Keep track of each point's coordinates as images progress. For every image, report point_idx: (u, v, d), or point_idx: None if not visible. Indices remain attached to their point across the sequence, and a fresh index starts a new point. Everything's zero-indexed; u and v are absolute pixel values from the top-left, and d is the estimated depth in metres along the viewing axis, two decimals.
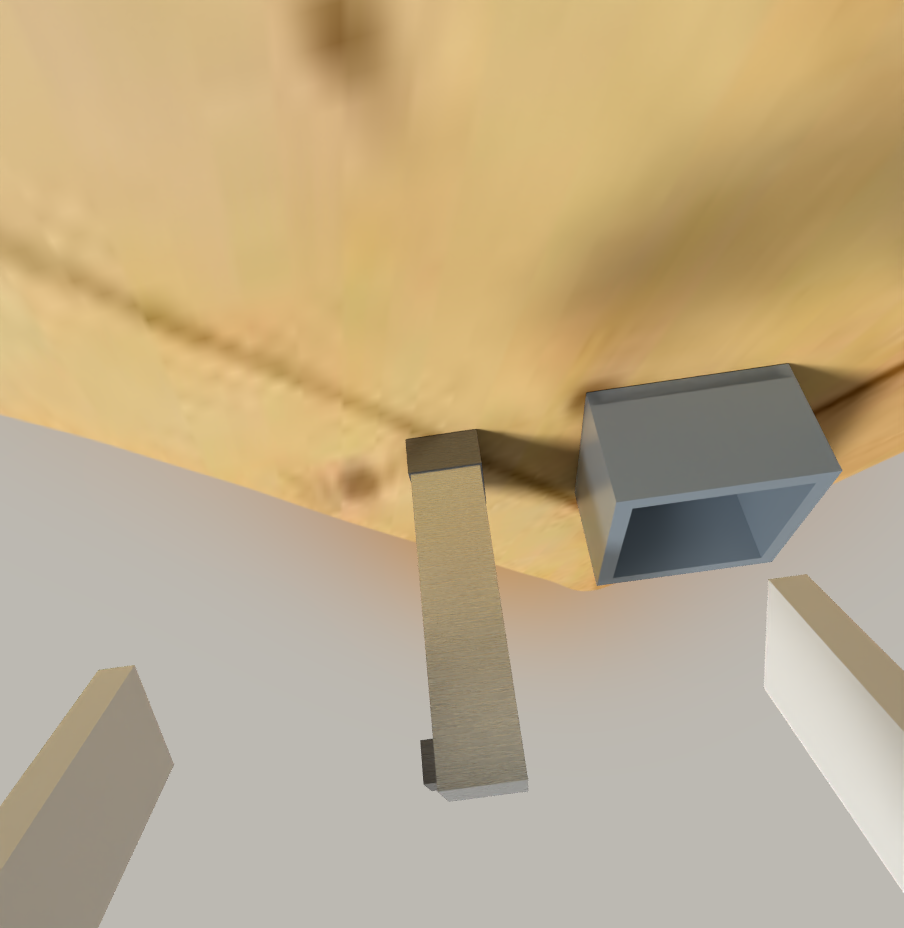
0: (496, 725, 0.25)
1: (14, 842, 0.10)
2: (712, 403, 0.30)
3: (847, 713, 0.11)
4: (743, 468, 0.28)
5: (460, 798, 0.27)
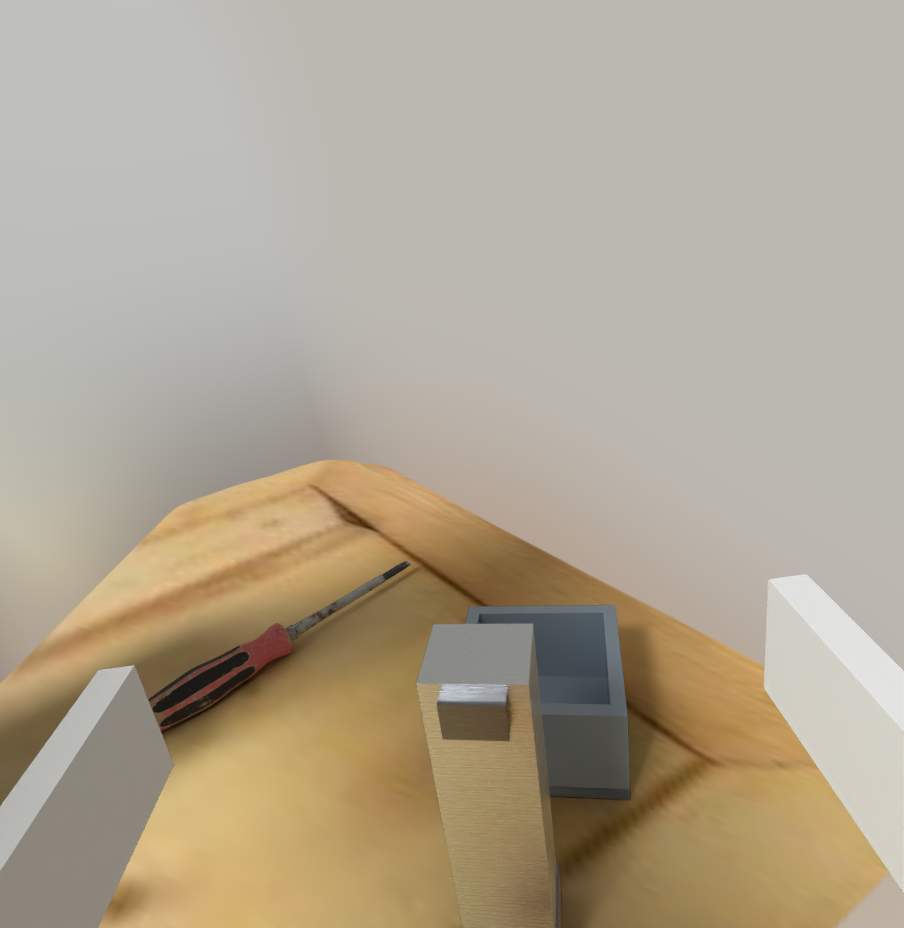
0: None
1: (14, 842, 0.10)
2: None
3: (847, 713, 0.11)
4: None
5: (512, 673, 0.23)
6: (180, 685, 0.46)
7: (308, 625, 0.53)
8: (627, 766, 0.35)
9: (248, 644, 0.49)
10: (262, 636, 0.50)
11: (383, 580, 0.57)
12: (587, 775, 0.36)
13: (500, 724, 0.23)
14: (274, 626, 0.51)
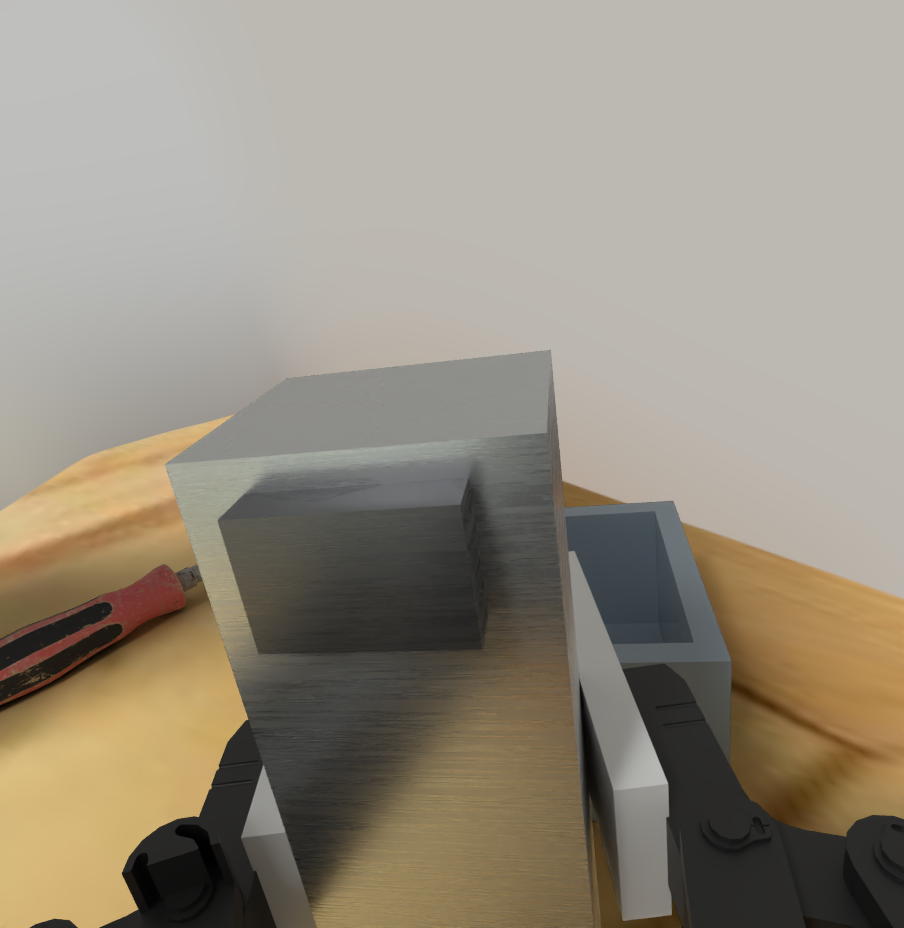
0: None
1: None
2: None
3: None
4: None
5: (490, 419, 0.07)
6: None
7: None
8: None
9: (114, 592, 0.33)
10: (138, 582, 0.34)
11: None
12: None
13: (448, 584, 0.06)
14: (158, 568, 0.35)
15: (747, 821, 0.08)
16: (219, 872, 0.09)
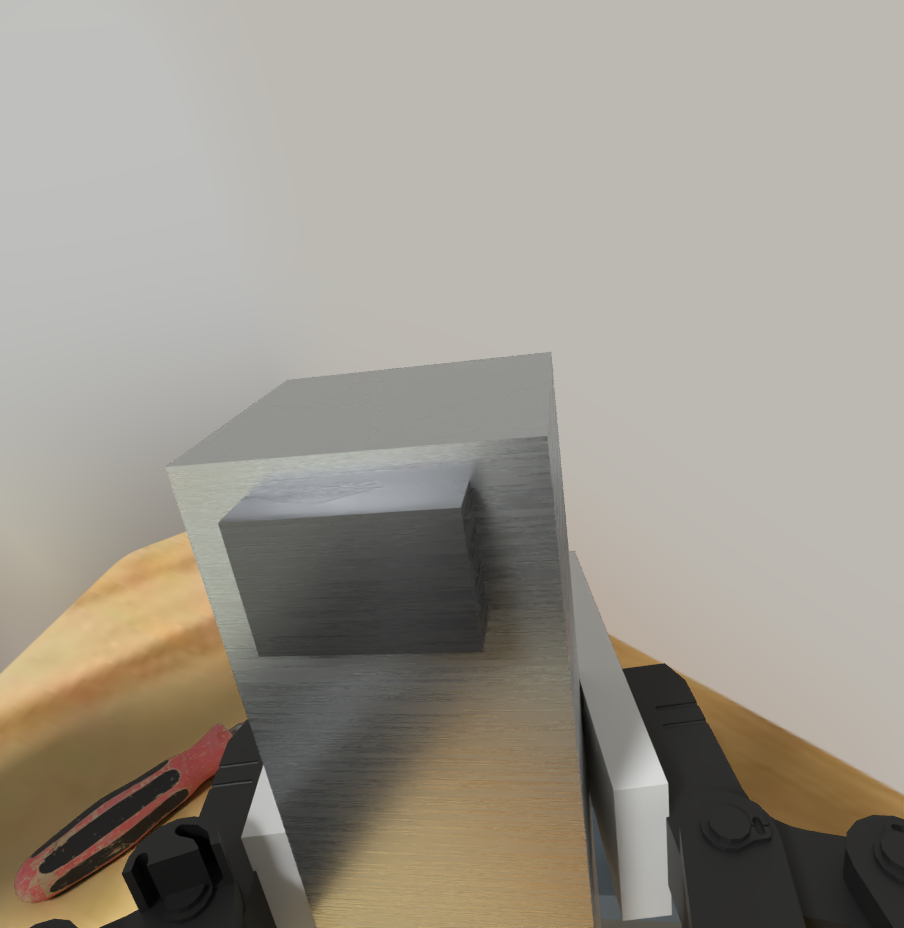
0: None
1: None
2: None
3: None
4: None
5: (490, 421, 0.07)
6: (80, 829, 0.33)
7: None
8: None
9: (179, 757, 0.37)
10: (199, 743, 0.38)
11: None
12: None
13: (448, 587, 0.06)
14: (215, 728, 0.39)
15: (747, 821, 0.08)
16: (219, 872, 0.09)
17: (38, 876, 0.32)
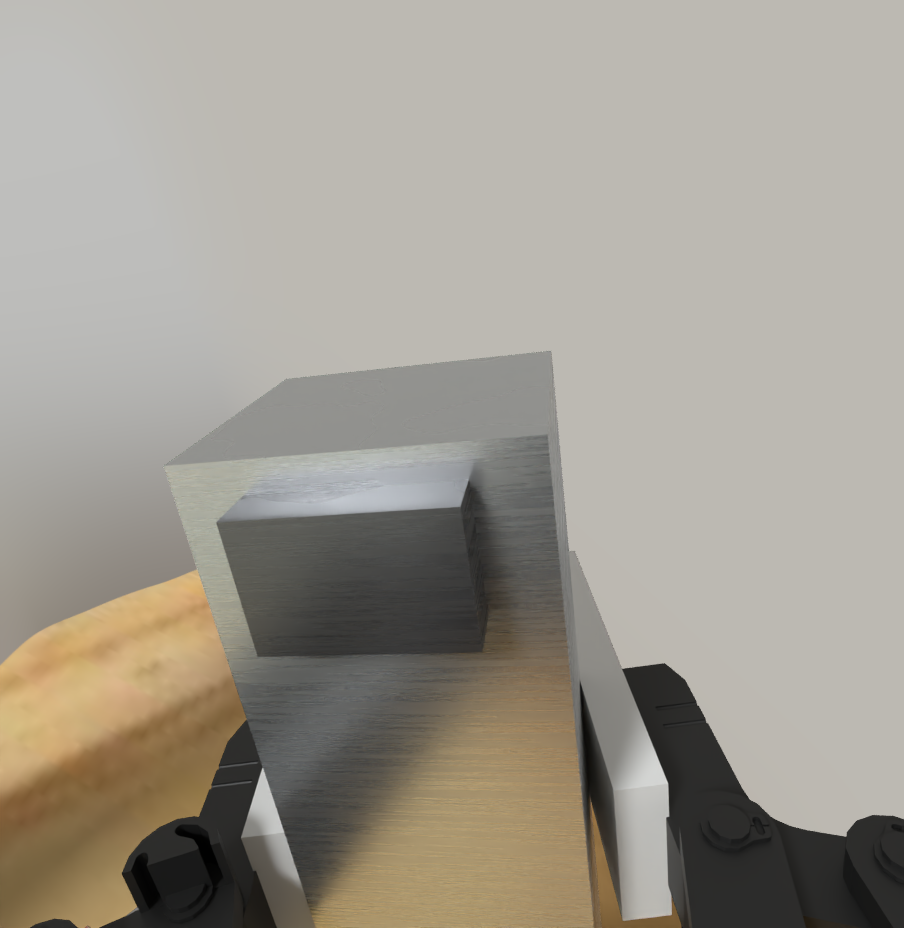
0: None
1: None
2: None
3: None
4: None
5: (490, 420, 0.07)
6: None
7: None
8: None
9: None
10: None
11: None
12: None
13: (448, 587, 0.06)
14: None
15: (747, 821, 0.08)
16: (219, 872, 0.09)
17: None
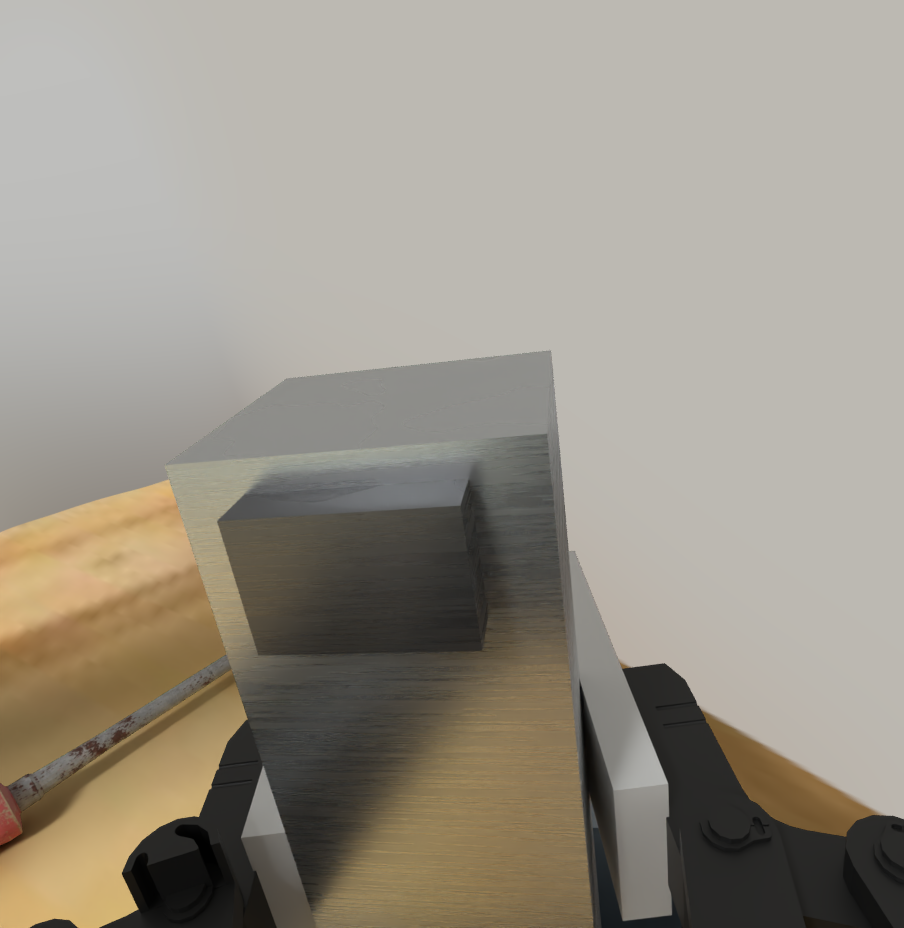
0: None
1: None
2: None
3: None
4: None
5: (490, 419, 0.07)
6: None
7: (65, 771, 0.27)
8: None
9: None
10: None
11: None
12: None
13: (448, 584, 0.06)
14: None
15: (747, 821, 0.08)
16: (219, 872, 0.09)
17: None
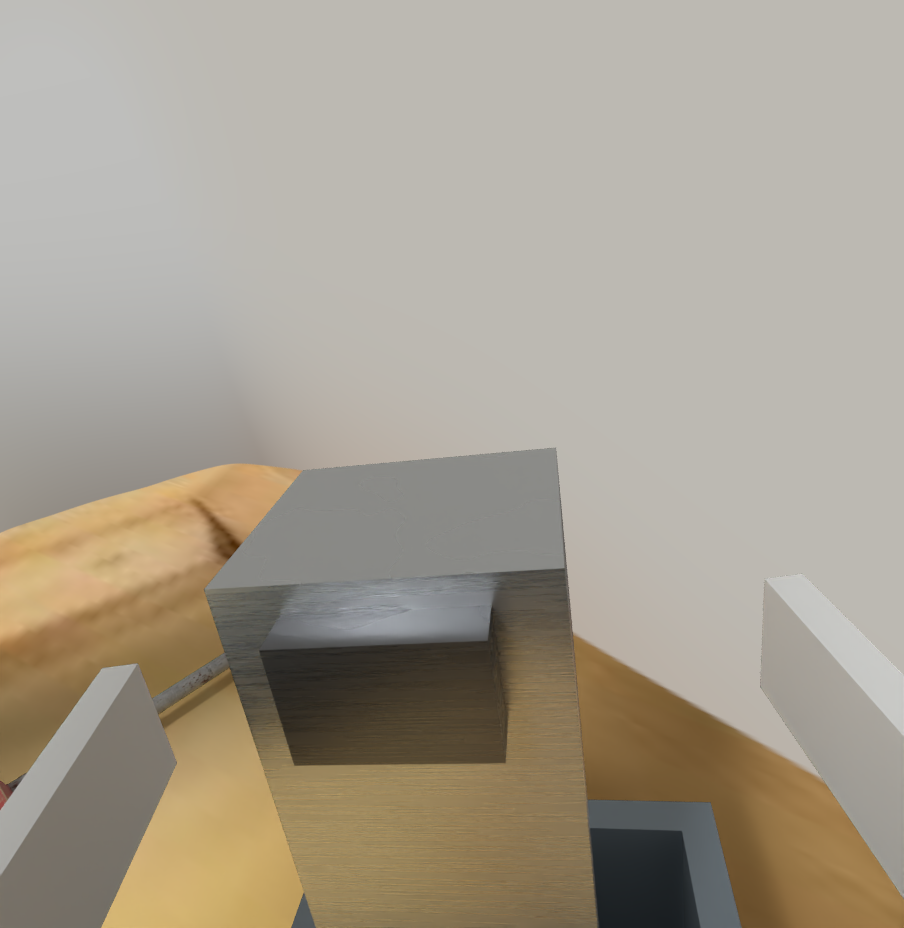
0: None
1: (20, 839, 0.10)
2: None
3: (842, 711, 0.11)
4: None
5: (509, 545, 0.07)
6: None
7: None
8: None
9: None
10: None
11: None
12: None
13: (476, 707, 0.07)
14: None
15: None
16: None
17: None
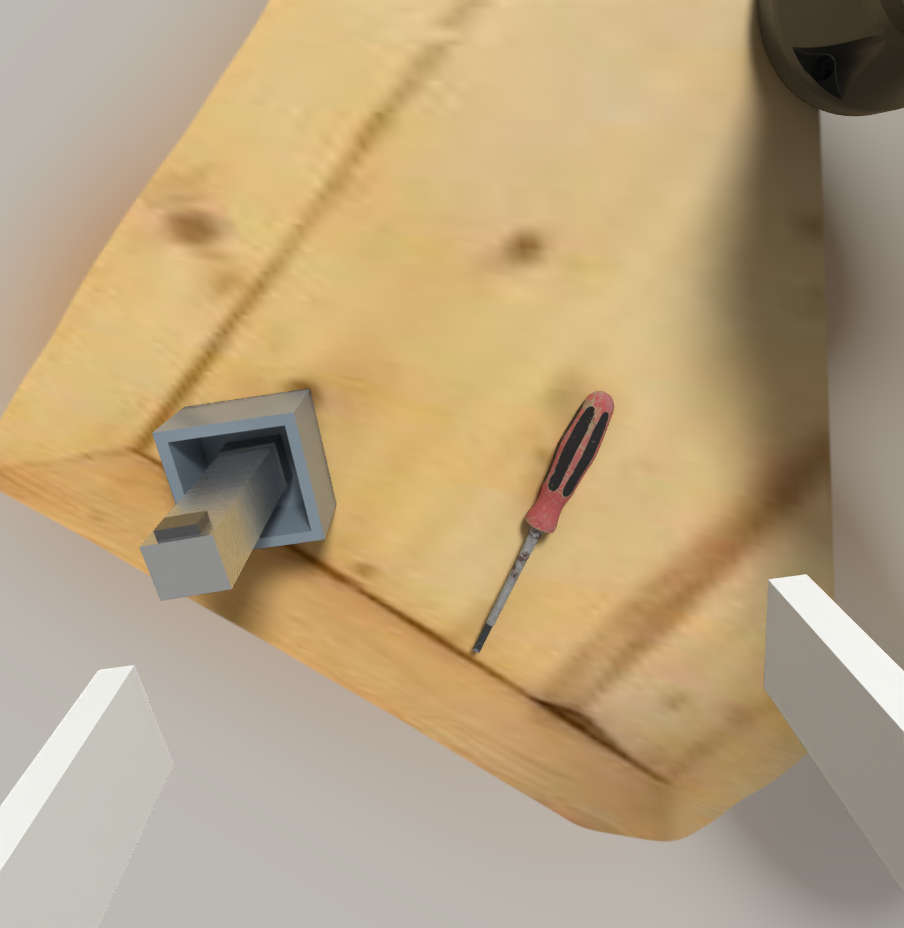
0: (237, 556, 0.37)
1: (14, 842, 0.10)
2: (322, 464, 0.49)
3: (847, 713, 0.11)
4: (314, 485, 0.46)
5: (153, 554, 0.35)
6: (584, 436, 0.48)
7: (524, 544, 0.53)
8: (173, 416, 0.47)
9: (557, 500, 0.50)
10: (552, 514, 0.51)
11: None
12: (205, 409, 0.48)
13: (163, 523, 0.36)
14: (546, 527, 0.51)
15: None
16: None
17: (591, 404, 0.48)
